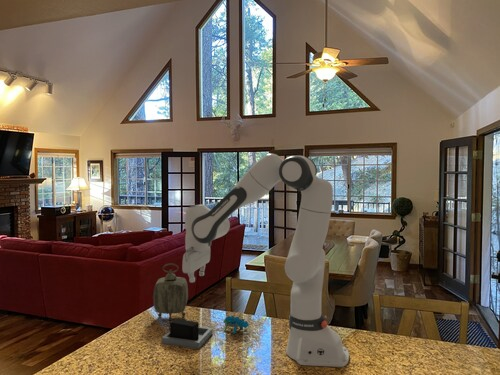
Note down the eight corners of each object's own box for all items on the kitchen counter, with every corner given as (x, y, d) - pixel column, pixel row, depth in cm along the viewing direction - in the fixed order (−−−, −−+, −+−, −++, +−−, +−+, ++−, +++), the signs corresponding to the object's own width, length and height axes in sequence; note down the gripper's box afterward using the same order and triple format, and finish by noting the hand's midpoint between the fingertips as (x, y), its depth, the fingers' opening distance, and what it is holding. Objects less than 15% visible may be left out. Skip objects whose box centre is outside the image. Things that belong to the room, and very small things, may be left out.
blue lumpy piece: (253, 325, 157) (242, 314, 151) (249, 339, 153) (238, 328, 147) (230, 324, 162) (219, 313, 156) (226, 337, 159) (215, 327, 152)
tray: (212, 334, 153) (212, 328, 153) (198, 349, 140) (198, 342, 140) (178, 329, 157) (178, 323, 157) (161, 343, 144) (161, 337, 144)
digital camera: (200, 338, 148) (200, 320, 148) (193, 344, 143) (193, 326, 142) (177, 334, 152) (177, 317, 151) (170, 339, 147) (170, 322, 146)
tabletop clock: (188, 314, 173) (187, 260, 172) (186, 322, 164) (185, 266, 163) (156, 315, 172) (155, 261, 171) (152, 323, 163) (151, 266, 162)
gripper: (193, 250, 141) (193, 287, 141) (212, 240, 160) (213, 272, 161) (177, 249, 142) (178, 285, 143) (199, 239, 162) (199, 271, 162)
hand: (197, 278), depth 152 cm, fingers open, 8 cm apart
